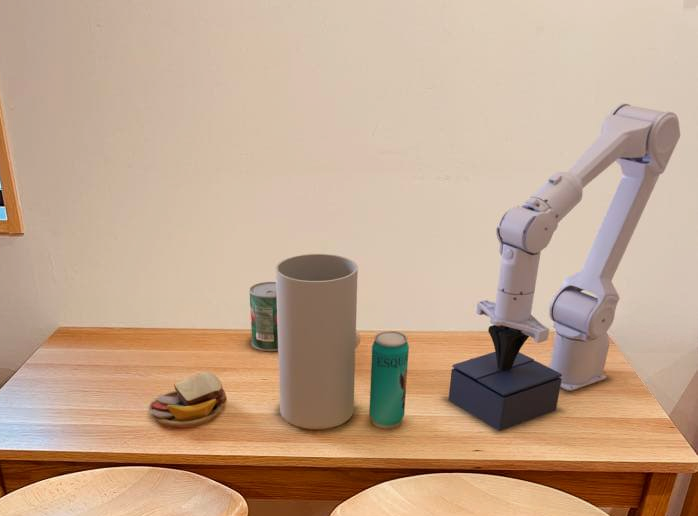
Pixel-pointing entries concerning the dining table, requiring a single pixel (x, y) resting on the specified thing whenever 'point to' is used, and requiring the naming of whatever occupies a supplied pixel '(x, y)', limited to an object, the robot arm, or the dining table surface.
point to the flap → (487, 365)
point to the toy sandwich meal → (189, 401)
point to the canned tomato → (264, 316)
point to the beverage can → (388, 379)
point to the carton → (507, 394)
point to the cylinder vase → (316, 339)
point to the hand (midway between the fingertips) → (504, 367)
